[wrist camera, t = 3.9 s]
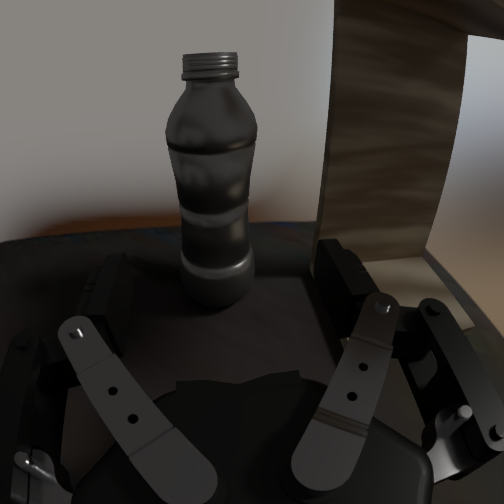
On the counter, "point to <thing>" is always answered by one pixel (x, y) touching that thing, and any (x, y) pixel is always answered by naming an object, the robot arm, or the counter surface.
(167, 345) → the counter surface
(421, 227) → the cubby shelf
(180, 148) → the plastic bottle
